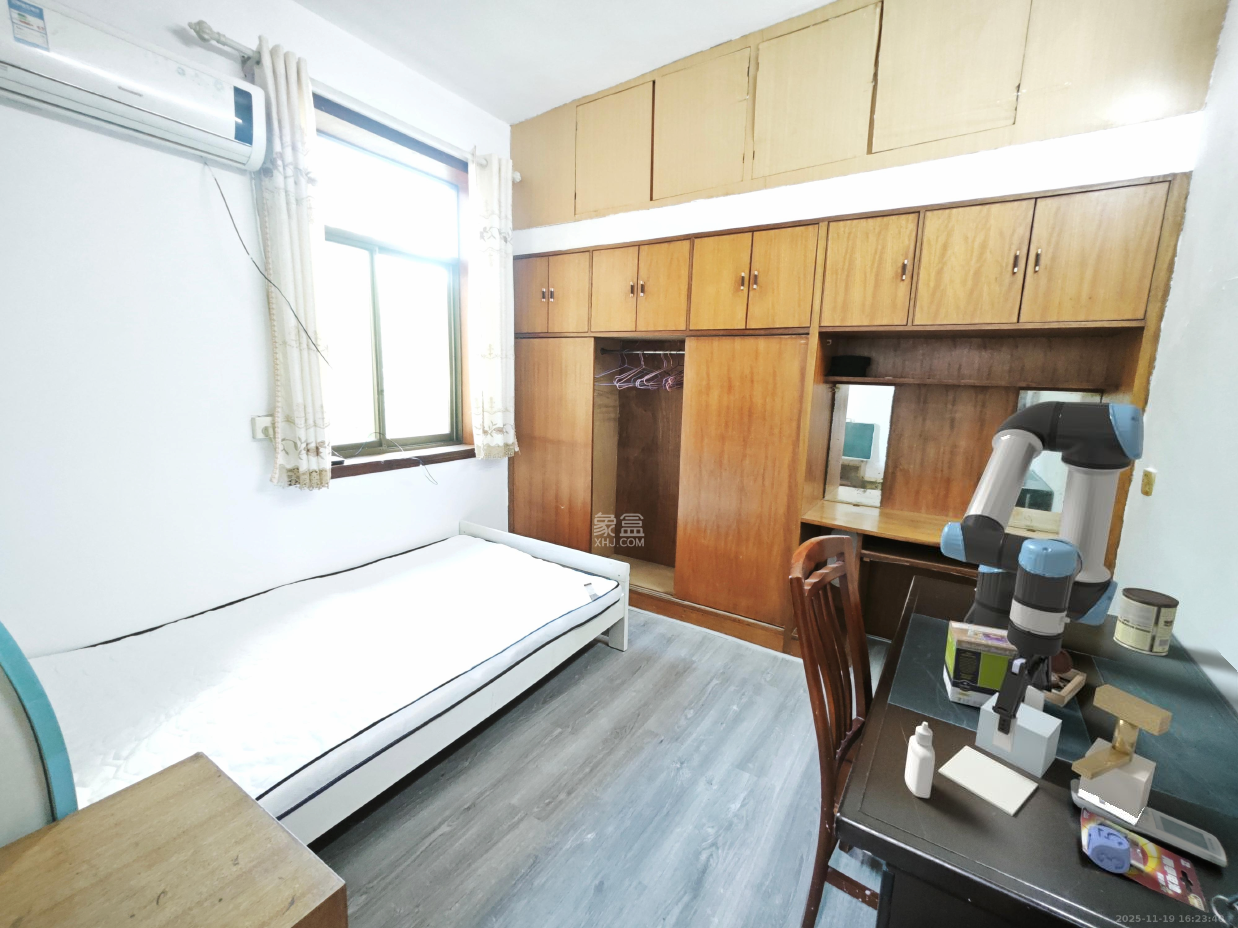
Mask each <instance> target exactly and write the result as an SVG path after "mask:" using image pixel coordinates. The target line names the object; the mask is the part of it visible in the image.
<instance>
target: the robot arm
mask: <svg viewBox="0 0 1238 928" xmlns="http://www.w3.org/2000/svg"><path fill="white" fill-rule="evenodd" d="M1144 437H1145V429H1144V414H1143V410H1142V409H1141V408H1140V407H1139V406H1137V405H1134V404H1124V403H1115V402H1097V401H1096V402H1093V401H1092V402H1090V401H1088V402H1087V401H1060V400H1048V401H1041V402H1037V403H1034V404H1031V405H1029V406H1027V407H1024V408H1022V409H1020V410H1019V411H1017V412H1015V413H1014V414H1012V415H1011V416H1009V417H1008V418H1007V419H1006V420H1005V421H1003V422H1002V424H1000V426H999V427H998V428H997V430H996V432H995V434H994V435H993V438H992V439H991V446H992V449H993V451H992V453H991V455H990V457H989V460H988V461H987V464H986V466H985V469H984V471H983V473H982V476H981V478H980V479H979V483H978V484H977V487H976V489H975V491H974V493H973V495H972V498H971V500H970V501H969V504H968V507H967V509H966V511H965V513H964V516H963V518H962V520H961V522H954V521H950V522H948V523H947V524H946V525H945V526H944V528H943V530H942V533H941V537H940V551H941V552H942V554H943V555H944V556H946V557H949V558H952V559H954V560H958V561H961V562H964V563H971V564H976V565H979V567H978V569H977V570H978V574H977V581H976V588H975V589H976V590H975V594H974V595H975V596H974V602H973V604H972V606H971V607H970V609H969V611H968V613H967V614H966V615H965V617H964V619H963V623H967V624H973V625H979V626H985V627H991V628H996V629H1002V630H1008V632H1007V640H1008V641H1009V643H1010V644H1012V645H1013V646H1015V647H1016V648H1017V650H1018V652H1017V654H1016V653H1015V654H1014V656H1013V658H1009V660H1008V665H1007V669H1006V673H1005V676H1004V679H1003V682H1002V685H1001V688H1000V691H999V694H998V697H997V700H996V703H995V706H992V710H993V712H994V713H996V714H997V720H996V726H995V732H994V738H993V744H995V745H997V746H999V747H1001V748H1003V749H1005V750H1006V751H1008V752H1010V753H1011V752H1012V749H1013V743H1014V738H1015V732H1016V726H1017V720H1018V717H1016V714H1017V712H1018V709H1019V707H1020V705H1021V702H1022V700H1023V697H1024V695H1025V692H1026V695H1025V701H1024V704H1025V705H1027V706H1030V707H1032V708H1034V709H1037V710H1039V711H1041V712H1044V711H1043V710H1044V705H1045V701H1046V700H1045V694H1046V692H1044V691H1043V690H1045V691H1047V692H1050V693H1051V692H1052V689H1053V690H1054V687H1052V686H1049V685H1050V683H1051V682H1052V681H1051V656H1056V655H1058V654H1059V653H1060V649H1061V648H1062V643H1063V634H1062V633H1063V632H1064V629H1065V623H1066V624H1069V623H1070V621H1074V622H1075V623H1082V624H1085V625H1091V626H1100V625H1102V624H1103V623H1104V621H1105V620H1106V617H1107V614H1108V613H1109V610H1110V608H1111V605H1112V602H1113V600H1114V597H1115V595H1116V592H1117V589H1118V586H1119V583H1118V582H1117V581H1116V580H1113V579H1111V575H1112V574H1111V571H1110V570H1109V569H1108V568H1107V567H1106V566H1104V564H1105V558H1106V552H1107V548H1108V546H1107V545H1108V541H1109V535H1110V529H1111V524H1112V518H1113V511H1114V507H1115V500H1116V495H1117V489H1118V484H1119V483H1118V482H1119V479H1120V474H1121V473H1122V472H1123V471H1126V470H1128V469H1129V468H1131V465H1132V461H1136V460H1141V459H1142V456H1143V452H1144V442H1145V441H1144ZM1046 451H1047V452H1054V453H1061V457H1060V462H1061V463H1062V464H1063V465H1064V466H1065V467H1067V475H1066V482H1065V489H1064V497H1063V502H1062V511H1061V519H1060V524H1059V532H1058V537H1052V538H1037V537H1036V538H1035V537H1031V536H1025V535H1019V534H1015V533H1011V532H1006V530H1007V527H1008V526H1009V525H1008V524H1009V522H1010V520H1011V517H1012V515H1013V511H1014V510H1015V506H1016V504H1017V501H1018V499H1019V497H1020V494H1021V492H1022V490H1023V489H1022V488H1023V487H1024V484H1025V482H1026V479H1027V476H1028V474H1029V471H1030V469H1031V466H1032V464H1033V461H1034V460H1035V459H1037V458H1038V457H1040V456H1041V454H1042V452H1046ZM1048 684H1049V685H1048ZM1029 685H1033V686H1029Z"/></svg>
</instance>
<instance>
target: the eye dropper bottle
mask: <svg viewBox="0 0 1238 928" xmlns="http://www.w3.org/2000/svg"><path fill="white" fill-rule="evenodd" d="M933 734H934V733H933V731H932V729H931V728H929V723H928V722H926V721H923V722H922V723H921V725H918V726H916V728H915V733H914V735H911V736H910V737H909V739H908V741H909V742H908V748H907V754H906V761H905V771H904V781H905V784H906V786H907V788H908V789H909V791H910V792H911V793H912V794H913V795H914V796H915V797H918V798H923V799H930V797H931V791H932V784H933V776H934V769H935V762H936V761H935V760H936V754H935V749H934V747H933V745H932V742H933Z"/></svg>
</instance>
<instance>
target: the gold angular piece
mask: <svg viewBox="0 0 1238 928" xmlns="http://www.w3.org/2000/svg"><path fill="white" fill-rule="evenodd" d="M1092 705H1093V706H1095V707H1097V708H1100V709H1101V710H1104V711H1106V712H1107V713H1110V714H1111V715H1113V716H1116V722H1115V725H1114V726H1115V727H1114V731H1113V736H1112V740H1111V743H1112V745H1111V746H1109V747H1107V748H1105V749H1102V750H1100V751H1098V752H1096V753H1093V754H1091V755H1089V756H1087V757H1085V756H1084V757H1082V758H1080V759H1078V760H1075V761H1073V762H1072V766H1071V770H1072V771H1074V772H1075V773H1077V774H1078V775H1082V776H1084V777H1085V778H1087V779H1089V780H1092V779H1094V778H1096V777H1099V776H1101V775H1103V774H1105V773H1107V772H1109V771H1111V770H1113V769H1116V768H1118V767H1120V766H1122V765H1124V764H1126V763H1128V762H1132V759H1133V755H1134V754H1135V750H1136V745H1137V740H1138V737H1139V736H1138V735H1139V730H1140V729H1143V730H1144V731H1146V732H1149V733H1151V734H1152V735H1155V736H1157V737H1158V736H1160V735H1163V734H1165V733H1167V732H1169V730H1170V727H1171V726H1170V725H1171V721H1172V716H1173V712H1170V711H1168V710H1166V709H1163V708H1162V707H1159V706H1157V705H1155V704H1153V703H1150V702H1148V701H1145V700H1143V698H1140V697H1137V696H1135V695H1132V694H1130V693H1129V692H1126V691H1124V690H1121V689H1120V688H1117V687H1115V686H1112V685H1110V684H1108V683H1107V684H1104V685H1101V686H1099V687H1096V688H1095V693H1094V698H1093V703H1092Z"/></svg>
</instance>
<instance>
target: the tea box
mask: <svg viewBox="0 0 1238 928" xmlns="http://www.w3.org/2000/svg"><path fill="white" fill-rule="evenodd" d="M947 632H948V633H947V640H946V642H947V643H946V649H945V657H944V665H943V677H942V678H943V680H944V684H945V687H946V690H947V691H946V692H947V694H948V698H949V700H950V701H951V702H955V703H958V704H959V703H960V704H963V705H966V706H967V705H969V706H973V707H977V708H980V709H981V707H982V706H983V705H984V704H985V703H986V702H987V701H988V700H989V699H991V698H992V697H993V696H994V695H995V694H996V693H999V691H1000V688H1001V685H1002V682H1003V679H1004V676H1005V673H1006V669H1007V665H1008V660H1009V658H1013V656H1014V654H1015V653H1016V654H1017V652H1018V650H1017V648H1016V647H1015V646H1013V645H1012V644H1010V643H1009V641H1008V640H1007V632H1008V630H1002V629H996V628H991V627H985V626H979V625H973V624H967V623H964V622H959V621H955V620H949V623H948V631H947ZM1029 686H1033V685H1029ZM1025 695H1026V692H1025ZM1025 695H1024V697H1023V700H1022V702H1021V703H1023V704H1024V701H1025Z"/></svg>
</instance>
